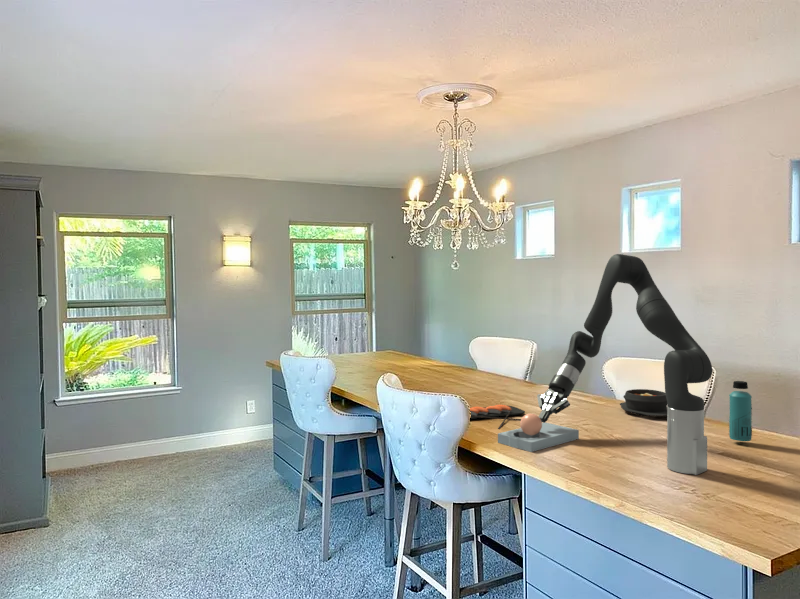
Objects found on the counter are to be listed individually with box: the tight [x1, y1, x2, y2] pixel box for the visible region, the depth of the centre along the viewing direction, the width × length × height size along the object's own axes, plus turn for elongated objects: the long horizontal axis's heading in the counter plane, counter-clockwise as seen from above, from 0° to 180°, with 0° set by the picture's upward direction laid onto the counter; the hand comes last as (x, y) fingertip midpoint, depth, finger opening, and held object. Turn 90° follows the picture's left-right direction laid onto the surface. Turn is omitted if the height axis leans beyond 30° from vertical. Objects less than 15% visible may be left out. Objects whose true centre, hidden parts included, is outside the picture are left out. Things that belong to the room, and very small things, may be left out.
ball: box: [519, 413, 543, 435], centre depth 193 cm, size 7×7×7 cm
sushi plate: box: [469, 404, 526, 430], centre depth 227 cm, size 29×30×4 cm
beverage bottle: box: [728, 380, 753, 442], centre depth 189 cm, size 6×7×20 cm
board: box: [497, 421, 580, 453], centre depth 195 cm, size 14×24×3 cm, turn 127°
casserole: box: [619, 388, 667, 417], centre depth 234 cm, size 25×19×8 cm
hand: (541, 420), depth 196 cm, fingers closed
